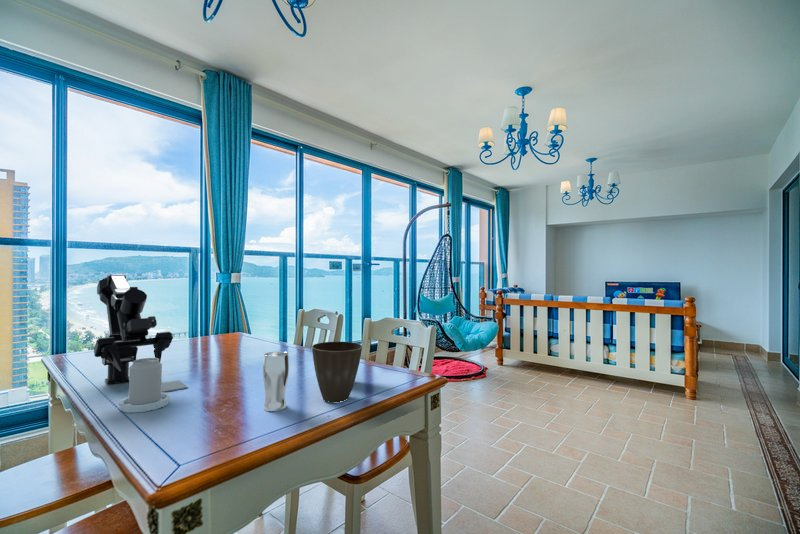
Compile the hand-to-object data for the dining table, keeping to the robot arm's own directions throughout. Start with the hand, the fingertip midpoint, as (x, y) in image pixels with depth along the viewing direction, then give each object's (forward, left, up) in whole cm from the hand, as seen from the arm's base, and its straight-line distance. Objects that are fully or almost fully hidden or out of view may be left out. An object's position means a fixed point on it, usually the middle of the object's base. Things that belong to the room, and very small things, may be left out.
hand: (140, 367), depth 109 cm
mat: (-9, +8, -9) cm, 15 cm away
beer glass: (+30, +26, -10) cm, 41 cm away
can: (+5, 0, -9) cm, 10 cm away
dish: (+5, 0, -9) cm, 11 cm away
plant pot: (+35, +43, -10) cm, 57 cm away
